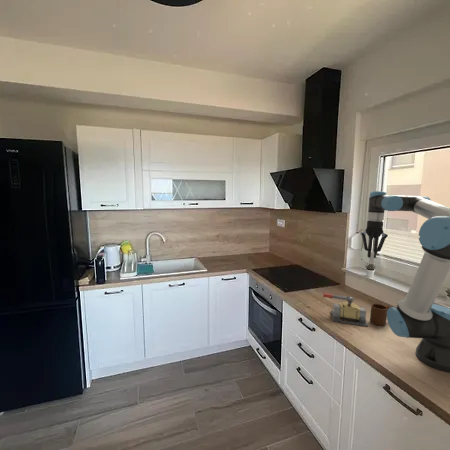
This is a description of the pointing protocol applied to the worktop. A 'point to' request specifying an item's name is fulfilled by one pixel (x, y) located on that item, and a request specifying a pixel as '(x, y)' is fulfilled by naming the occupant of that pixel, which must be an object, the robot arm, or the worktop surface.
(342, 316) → the valve
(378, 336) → the worktop surface
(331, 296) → the lever
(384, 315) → the mug
